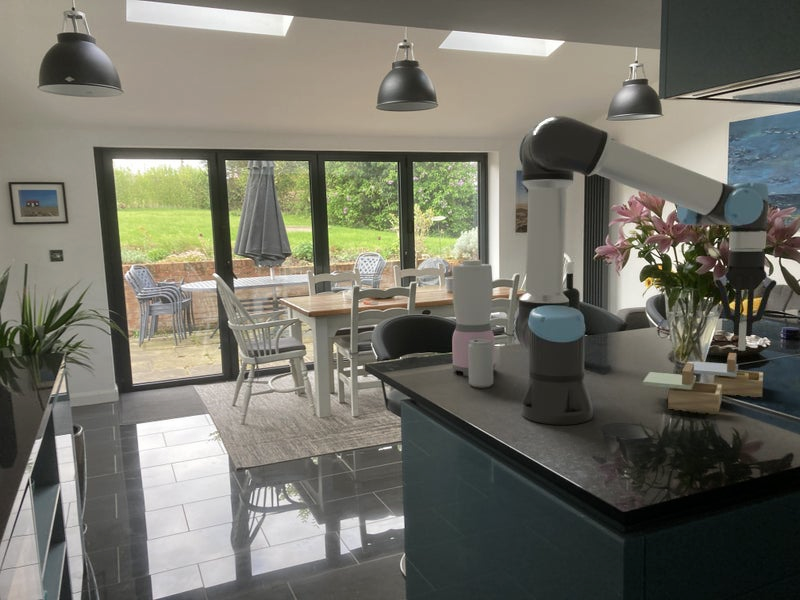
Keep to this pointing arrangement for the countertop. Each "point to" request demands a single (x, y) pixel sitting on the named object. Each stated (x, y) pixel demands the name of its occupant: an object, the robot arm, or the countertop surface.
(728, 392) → the box far
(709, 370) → the lid far
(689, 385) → the lid near
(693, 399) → the box near
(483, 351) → the beverage can
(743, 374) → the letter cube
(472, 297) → the blender
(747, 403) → the countertop surface
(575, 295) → the wine bottle
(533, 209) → the robot arm
